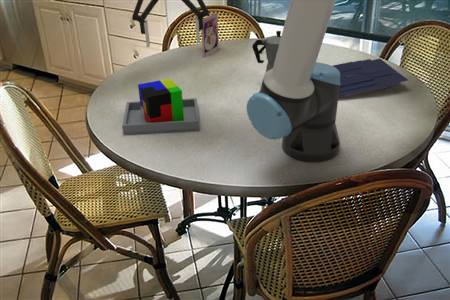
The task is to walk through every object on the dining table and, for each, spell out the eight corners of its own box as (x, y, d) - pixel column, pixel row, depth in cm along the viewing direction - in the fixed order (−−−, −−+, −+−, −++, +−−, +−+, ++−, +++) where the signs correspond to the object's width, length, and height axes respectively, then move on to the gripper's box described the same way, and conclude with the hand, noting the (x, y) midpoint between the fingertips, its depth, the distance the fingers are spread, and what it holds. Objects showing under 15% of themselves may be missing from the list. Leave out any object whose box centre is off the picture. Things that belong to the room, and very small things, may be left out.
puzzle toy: (141, 114, 147) (137, 84, 142) (172, 108, 151) (170, 78, 146) (151, 129, 140) (147, 97, 134) (184, 121, 143) (181, 90, 138)
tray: (199, 130, 139) (198, 121, 138) (123, 134, 138) (122, 125, 137) (197, 106, 153) (196, 98, 151) (128, 110, 151) (126, 101, 150)
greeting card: (205, 57, 190) (203, 19, 183) (189, 54, 194) (187, 17, 186) (220, 49, 199) (219, 12, 191) (205, 46, 202) (203, 10, 194)
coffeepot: (290, 75, 174) (293, 25, 164) (299, 85, 166) (302, 33, 156) (248, 79, 171) (249, 28, 162) (255, 89, 163) (256, 37, 154)
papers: (411, 90, 158) (412, 79, 156) (323, 109, 155) (322, 98, 153) (377, 63, 178) (378, 54, 177) (299, 80, 176) (298, 70, 174)
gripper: (214, -44, 126) (217, 36, 137) (116, -39, 124) (128, 42, 135) (216, -40, 119) (220, 44, 130) (114, -34, 118) (126, 51, 128)
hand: (173, 43), depth 132 cm, fingers open, 13 cm apart
